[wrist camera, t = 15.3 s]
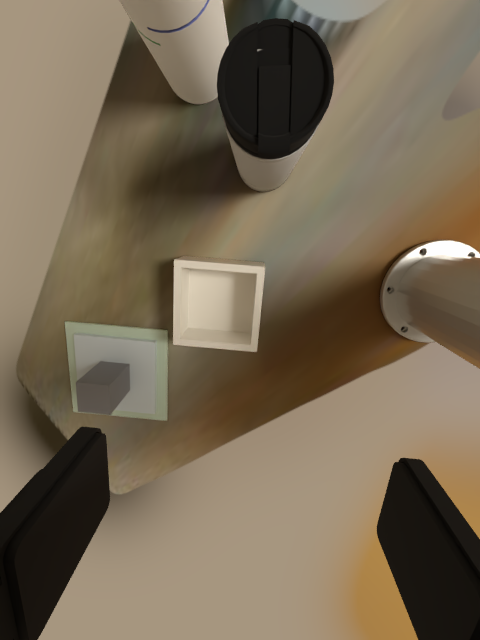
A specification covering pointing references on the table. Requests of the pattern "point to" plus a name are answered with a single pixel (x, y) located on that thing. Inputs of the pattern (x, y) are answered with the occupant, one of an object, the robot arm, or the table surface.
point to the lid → (115, 374)
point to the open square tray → (217, 303)
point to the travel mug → (273, 97)
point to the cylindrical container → (183, 42)
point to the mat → (129, 333)
